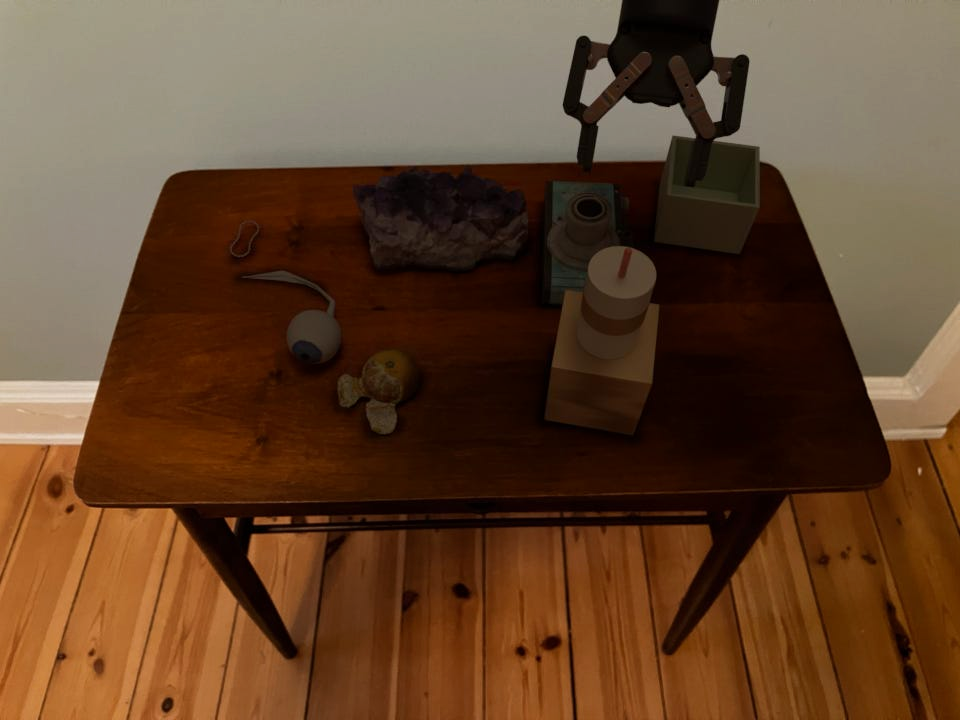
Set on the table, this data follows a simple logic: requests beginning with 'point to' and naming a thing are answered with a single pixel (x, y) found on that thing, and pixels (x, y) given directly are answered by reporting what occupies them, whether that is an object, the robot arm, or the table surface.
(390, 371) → the fruit
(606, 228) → the camera
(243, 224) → the necklace
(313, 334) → the novelty item
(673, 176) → the bin
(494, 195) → the geode
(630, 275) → the paper cup
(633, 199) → the table surface
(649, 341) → the stand
